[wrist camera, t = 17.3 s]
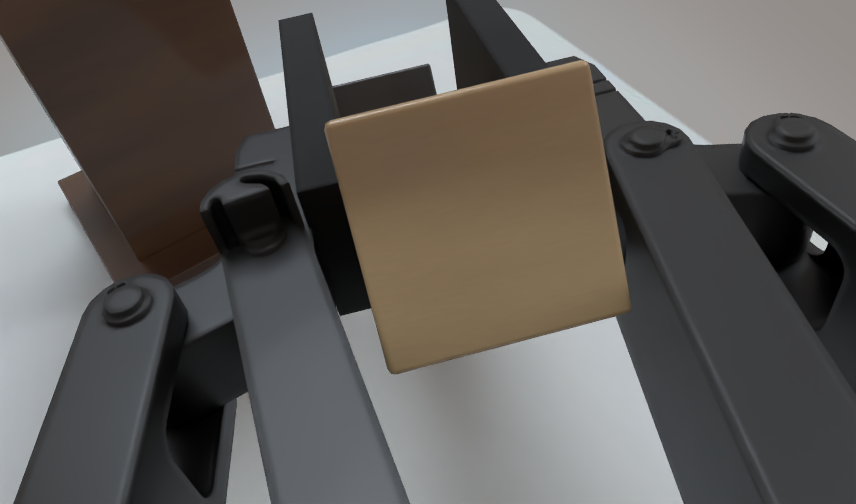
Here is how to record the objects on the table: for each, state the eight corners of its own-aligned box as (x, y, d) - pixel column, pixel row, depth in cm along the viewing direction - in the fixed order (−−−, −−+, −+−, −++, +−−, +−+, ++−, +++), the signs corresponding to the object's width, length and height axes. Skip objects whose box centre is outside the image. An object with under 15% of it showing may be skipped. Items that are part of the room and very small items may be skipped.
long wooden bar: (690, 299, 8) (631, -93, 7) (330, 395, 8) (216, 0, 7) (444, 168, 29) (422, 69, 28) (349, 191, 29) (322, 92, 28)
